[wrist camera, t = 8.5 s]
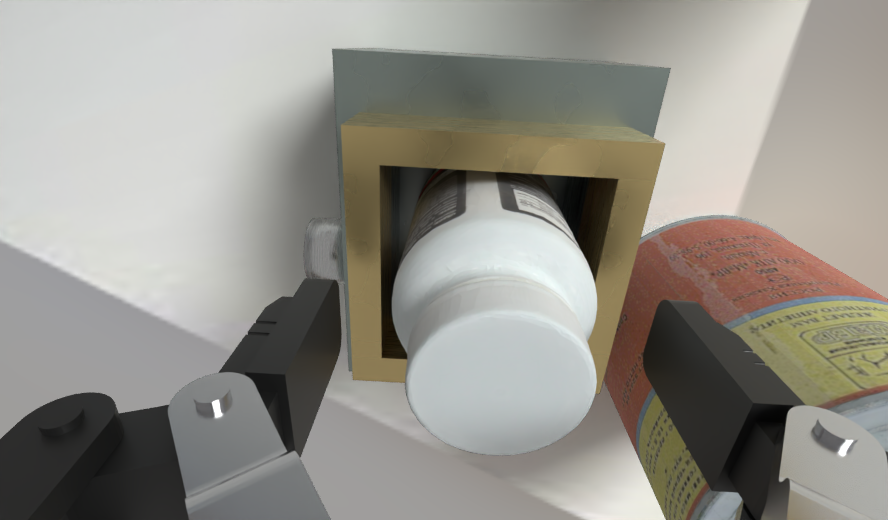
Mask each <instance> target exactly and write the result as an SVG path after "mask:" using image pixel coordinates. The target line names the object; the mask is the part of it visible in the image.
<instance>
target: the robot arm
mask: <svg viewBox="0 0 888 520" xmlns="http://www.w3.org/2000/svg"><path fill="white" fill-rule="evenodd" d="M340 347H341V316H340V299H339V286H338V282H337V280H330V279H313V278H306V279H305V280H304V281H303V282H302V284H301V285H300V287H299V289H298V290H297V292H296V293H295V295H294V296H293V297H281V298H279V299H278V300H276V301H275V302H273V303H272V304H270V305H269V306H267V307H266V308H265V309H264V310H263V312H262V313H261V315H260V316H259V317H258V319H257V320H256V323H254V324H253V326H252V327H251V328H250V330H249V331H248V335H245V337H244V338H243V339H242V341H241V342H240V344H239V345H238V346H237V348H236V349H235V351H234V352H233V353H232V355H231V356H230V358H229V359H228V360H227V362H226V363H225V365H224V366H223V367H222V369H221V370H220V371H219V373H216V374H212V375H208V376H205V377H202V378H199V379H197V380H195V381H193V382H191V383H189V384H188V385H186V386H185V387H183V388H182V389H181V390H180V391H179V392H178V393H177V394H176V395H175V396H174V397H173V398H172V400H171V402H170V404H169V405H165V406H160V407H155V408H149V409H143V410H137V411H131V412H125V413H120V414H119V413H118V410H117V408H116V405H115V402H114V401H113V399H112V398H111V397H109V396H107V395H105V394H101V393H81V394H74V395H70V396H67V397H63V398H60V399H57V400H55V401H52V402H50V403H48V404H45V405H43V406H42V407H40V408H38V409H36V410H34V411H33V412H31V413H30V414H28V415H27V416H25V417H24V418H23V419H22V420H21V421H20V422H18V423H17V424H16V425H15V426H14V427H13V428H12V429H11V430H10V431H9V432H8V433H6V434H5V435H4V436H3V437H2V438H1V439H0V520H331V518H330V516H329V515H328V512H327V511H326V509H325V507H324V505H323V503H322V501H321V499H320V497H319V495H318V493H317V491H316V489H315V487H314V485H313V483H312V481H311V479H310V477H309V475H308V473H307V471H306V469H305V467H304V465H303V463H302V461H301V459H300V457H301V454H302V452H303V449H304V446H305V444H306V441H307V438H308V436H309V433H310V431H311V428H312V425H313V423H314V420H315V417H316V414H317V412H318V409H319V407H320V404H321V401H322V399H323V396H324V393H325V391H326V388H327V385H328V383H329V380H330V378H331V375H332V372H333V370H334V367H335V364H336V362H337V359H338V356H339V352H340ZM643 367H644V371H645V374H646V376H647V378H648V380H649V382H650V383H651V385H652V387H653V389H654V390H655V392H656V394H657V396H658V398H659V399H660V401H661V403H662V405H663V406H664V408H665V410H666V412H667V413H668V415H669V417H670V419H671V420H672V422H673V424H674V426H675V427H676V429H677V431H678V433H679V434H680V436H681V438H682V440H683V441H684V443H685V445H686V447H687V448H688V450H689V452H690V454H691V455H692V457H693V459H694V461H695V462H696V464H697V466H698V468H699V469H700V471H701V473H702V475H703V476H704V478H705V480H706V482H707V483H708V485H709V487H710V489H711V491H717V492H735V493H739V495H740V497H741V498H742V501H741V503H740V505H739V507H738V509H737V512H736V516H735V520H888V452H887V451H885V450H884V448H883V447H882V445H881V444H880V443H879V441H878V440H877V439H876V438H875V437H874V436H873V435H872V434H870V433H869V432H868V431H867V430H865V429H864V428H863V427H861V426H860V425H858V424H856V423H855V422H853V421H851V420H850V419H848V418H846V417H844V416H842V415H839V414H837V413H835V412H832V411H829V410H826V409H823V408H819V407H814V406H806V404H805V403H804V402H803V401H802V400H801V399H800V398H799V397H798V396H797V395H796V394H795V393H794V392H793V391H792V390H791V389H790V388H789V387H788V386H787V385H786V384H785V383H784V382H783V381H782V380H781V379H780V378H779V377H778V375H777V374H776V373H775V372H774V371H773V370H772V369H771V368H770V367H769V366H765V362H764V361H763V360H762V359H761V358H760V357H759V356H758V355H757V354H756V353H753V350H752V349H751V348H750V346H749V345H748V344H747V343H746V342H745V341H744V340H743V339H742V338H741V337H740V336H739V335H737V334H736V333H734V332H733V331H731V330H729V329H728V328H726V327H725V326H723V325H721V324H720V323H718V322H716V321H715V320H714V319H713V318H712V317H711V316H710V315H709V314H708V312H707V311H706V310H705V309H704V308H703V307H702V306H701V305H700V304H699V303H698V302H695V301H681V300H662V301H661V302H660V303H659V304H658V306H657V309H656V312H655V315H654V319H653V322H652V325H651V328H650V332H649V335H648V338H647V342H646V345H645V348H644V352H643Z"/></svg>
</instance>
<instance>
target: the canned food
mask: <svg viewBox="0 0 888 520" xmlns="http://www.w3.org/2000/svg"><path fill="white" fill-rule="evenodd" d="M662 300H681V301H695V302H698V303H699V304H700V305H701V306H702V307H703V308H704V309H705V310H706V311H707V312H708V314H709V315H710V316H711V317H712V318H713V319H714V320H715V321H716V322H718V323H720V324H721V325H723V326H725V327H726V328H728V329H729V330H731V331H733V332H734V333H736V334H737V335H739V336H740V337H741V338H742V339H743V340H744V341H745V342H746V343H747V344H748V345H749V346H750V348H751V349H752V350H753V353H756V354H757V355H758V356H759V357H760V358H761V359H762V360H763V361H764V362H765V366H769V367H770V368H771V369H772V370H773V371H774V372H775V373H776V374H777V375H778V377H779V378H780V379H781V380H782V381H783V382H784V383H785V384H786V385H787V386H788V387H789V388H790V389H791V390H792V391H793V392H794V393H795V394H796V395H797V396H798V397H799V398H800V399H801V400H802V401H803V402H804V403H805V404H806V406H814V407H819V408H823V409H826V410H829V411H832V412H835V413H837V414H839V415H842V416H844V417H846V418H848V419H850V420H851V421H853V422H855V423H856V424H858V425H860V426H861V427H863V428H864V429H865V430H867V431H868V432H869V433H870V434H872V435H873V436H874V437H875V438H876V439H877V440H878V441H879V443H880V444H881V445H882V447H883V448H884V450H885V451H887V452H888V299H887V298H885V297H883V296H881V295H880V294H878V293H876V292H875V291H873V290H871V289H870V288H868V287H866V286H864V285H863V284H861V283H859V282H858V281H856V280H854V279H852V278H851V277H849V276H847V275H846V274H844V273H842V272H840V271H839V270H837V269H835V268H834V267H832V266H830V265H829V264H827V263H825V262H823V261H822V260H820V259H818V258H817V257H815V256H813V255H811V254H810V253H808V252H806V251H805V250H803V249H801V248H800V247H798V246H796V245H794V244H793V243H791V242H789V241H788V240H787V239H786V238H785V237H783V236H782V235H781V234H779V233H778V232H776V231H775V230H773V229H771V228H770V227H768V226H766V225H764V224H761V223H759V222H757V221H753V220H750V219H746V218H742V217H736V216H726V215H711V216H701V217H695V218H690V219H685V220H682V221H678V222H675V223H672V224H669V225H666V226H664V227H662V228H660V229H657V230H655V231H653V232H651V233H649V234H648V235H646V236H644V237H642V238H641V239H640V242H639V246H638V250H637V253H636V257H635V261H634V265H633V269H632V272H631V276H630V280H629V284H628V288H627V291H626V295H625V299H624V303H623V307H622V310H621V314H620V318H619V322H618V326H617V329H616V333H615V337H614V341H613V345H612V348H611V352H610V356H609V360H608V364H607V367H606V371H605V375H604V381H605V383H606V386H607V388H608V390H609V392H610V395H611V397H612V399H613V401H614V404H615V406H616V408H617V410H618V413H619V415H620V417H621V419H622V422H623V424H624V426H625V428H626V431H627V433H628V435H629V437H630V440H631V442H632V444H633V446H634V449H635V451H636V453H637V455H638V458H639V460H640V462H641V464H642V467H643V469H644V471H645V473H646V476H647V478H648V480H649V483H650V485H651V487H652V489H653V492H654V494H655V496H656V498H657V501H658V503H659V505H660V507H661V510H662V512H663V514H664V516H665V519H666V520H735V516H736V512H737V509H738V507H739V505H740V503H741V501H742V498H741V497H740V495H739V493H735V492H717V491H711V489H710V487H709V485H708V483H707V482H706V480H705V478H704V476H703V475H702V473H701V471H700V469H699V468H698V466H697V464H696V462H695V461H694V459H693V457H692V455H691V454H690V452H689V450H688V448H687V447H686V445H685V443H684V441H683V440H682V438H681V436H680V434H679V433H678V431H677V429H676V427H675V426H674V424H673V422H672V420H671V419H670V417H669V415H668V413H667V412H666V410H665V408H664V406H663V405H662V403H661V401H660V399H659V398H658V396H657V394H656V392H655V390H654V389H653V387H652V385H651V383H650V382H649V380H648V378H647V376H646V374H645V371H644V367H643V352H644V348H645V345H646V342H647V338H648V335H649V332H650V328H651V325H652V322H653V319H654V315H655V312H656V309H657V306H658V304H659V303H660V302H661V301H662Z"/></svg>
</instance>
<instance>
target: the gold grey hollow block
mask: <svg viewBox="0 0 888 520" xmlns="http://www.w3.org/2000/svg"><path fill="white" fill-rule="evenodd" d="M332 54H333V73H334V92H335V112H336V131H337V150H338V170H339V189H340V208H341V219H333V218H313V219H312V220H311V221H310V223H309V225H308V228H307V231H306V236H305V242H304V267H305V273H306V276H307V278H313V279H330V280H337V282H338V284H344V286H345V305H346V325H347V344H348V363H349V371H352V372H353V380H365V381H382V382H400V383H405V375H406V366H407V359H408V358H407V352H406V351H405V349H404V347H403V346H402V344H401V342H400V340H399V338H398V335H397V333H396V329H395V326H394V322H393V316H392V295H393V287H394V282H395V278H396V275H397V271H398V268H399V264H400V261H401V258H402V255H403V252H404V248H405V245H406V242H407V238H408V234H409V230H410V226H411V222H412V218H413V215H414V211H415V207H416V205H417V202H418V199H419V196H420V193H421V191H422V189H423V187H424V185H425V184H426V182H427V181H428V179H429V178H430V176H431V175H432V174H433V173H434V172H435V171H436V170H437V169H438V168H439V169H456V170H474V171H491V172H509V173H526V174H540V175H541V176H542V177H543V179H544V180H545V182H546V184H547V186H548V187H549V189H550V190H551V192H552V194H553V196H554V198H555V200H556V202H557V204H558V206H559V209H560V210H561V212H562V214H563V217H564V219H565V221H566V222H567V224H568V226H569V228H570V230H571V232H572V233H573V236H574V238H575V240H576V242H577V244H578V246H579V248H580V249H581V251H582V253H583V255H584V257H585V259H586V260H587V263H588V265H589V267H590V270H591V273H592V276H593V279H594V282H595V287H596V293H597V314H596V320H595V324H594V327H593V330H592V333H591V335H590V337H589V339H588V341H587V342H588V345H589V349H590V352H591V354H592V357H593V361H594V365H595V369H596V379H597V384H596V392H595V394H600V390H601V386H602V383H603V379H604V375H605V371H606V367H607V364H608V360H609V356H610V352H611V348H612V345H613V341H614V337H615V333H616V329H617V326H618V322H619V318H620V314H621V310H622V307H623V303H624V299H625V295H626V291H627V288H628V284H629V280H630V276H631V272H632V269H633V265H634V261H635V257H636V253H637V250H638V246H639V242H640V238H641V234H642V231H643V227H644V223H645V219H646V215H647V212H648V208H649V204H650V200H651V196H652V193H653V189H654V185H655V181H656V177H657V174H658V170H659V166H660V162H661V158H662V155H663V151H664V147H665V143H663V142H661V141H659V140H657V139H655V138H653V137H654V133H655V129H656V125H657V121H658V117H659V113H660V109H661V105H662V101H663V97H664V93H665V89H666V85H667V81H668V77H669V73H670V69H671V68H664V67H654V66H644V65H635V64H625V63H615V62H603V61H586V60H568V59H551V58H533V57H516V56H498V55H481V54H463V53H446V52H428V51H411V50H393V49H376V48H349V49H332Z"/></svg>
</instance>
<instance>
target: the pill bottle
mask: <svg viewBox="0 0 888 520" xmlns="http://www.w3.org/2000/svg"><path fill="white" fill-rule="evenodd" d="M596 314H597V293H596V287H595V282H594V279H593V276H592V273H591V270H590V267H589V265H588V263H587V260H586V259H585V257H584V255H583V253H582V251H581V249H580V248H579V246H578V244H577V242H576V240H575V238H574V236H573V233H572V232H571V230H570V228H569V226H568V224H567V222H566V221H565V219H564V217H563V214H562V212H561V210H560V209H559V206H558V204H557V202H556V200H555V198H554V196H553V194H552V192H551V190H550V189H549V187H548V186H547V184H546V182H545V180H544V179H543V177H542V176H541V175H540V174H526V173H509V172H491V171H474V170H456V169H439V168H438V169H437V170H436V171H435V172H434V173H433V174H432V175H431V176H430V178H429V179H428V181H427V182H426V184H425V185H424V187H423V189H422V191H421V193H420V196H419V199H418V202H417V205H416V207H415V211H414V215H413V218H412V222H411V226H410V230H409V234H408V238H407V242H406V245H405V248H404V252H403V255H402V258H401V261H400V264H399V268H398V271H397V275H396V278H395V282H394V287H393V295H392V316H393V322H394V326H395V329H396V333H397V335H398V338H399V340H400V342H401V344H402V346H403V347H404V349H405V351H406V352H407V358H408V359H407V366H406V375H405V389H406V395H407V398H408V402H409V405H410V407H411V410H412V411H413V413H414V415H415V416H416V418H417V419H418V421H419V422H420V423H421V424H422V425H423V426H424V427H425V428H426V429H427V430H428V431H429V432H430V433H431V434H432V435H434V436H435V437H437V438H438V439H440V440H441V441H443V442H444V443H446V444H448V445H451V446H453V447H455V448H458V449H461V450H464V451H468V452H472V453H476V454H482V455H493V456H499V455H504V456H507V455H517V454H523V453H528V452H531V451H534V450H538V449H541V448H543V447H546V446H548V445H550V444H552V443H554V442H556V441H558V440H559V439H561V438H563V437H564V436H566V435H567V434H568V433H570V432H571V431H572V430H573V429H574V428H575V427H577V426H578V425H579V423H580V422H581V421H582V420H583V418H584V417H585V416H586V414H587V413H588V411H589V409H590V407H591V405H592V402H593V399H594V396H595V392H596V384H597V379H596V369H595V365H594V361H593V357H592V354H591V352H590V349H589V345H588V342H587V341H588V339H589V337H590V335H591V333H592V330H593V327H594V324H595V320H596Z"/></svg>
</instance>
